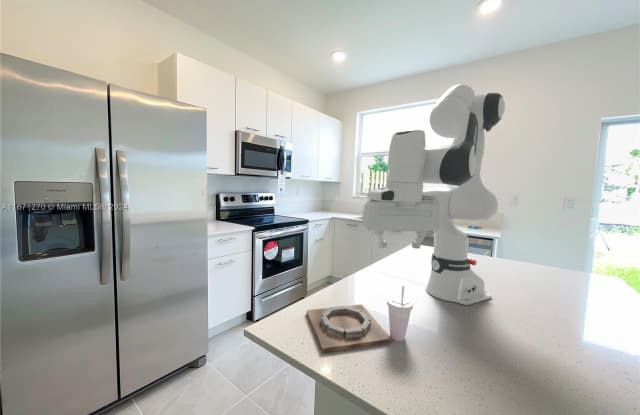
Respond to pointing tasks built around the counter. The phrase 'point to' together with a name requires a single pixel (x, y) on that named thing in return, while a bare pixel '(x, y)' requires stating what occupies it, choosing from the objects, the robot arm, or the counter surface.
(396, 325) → the smoothie
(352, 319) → the socket
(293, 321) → the counter surface
